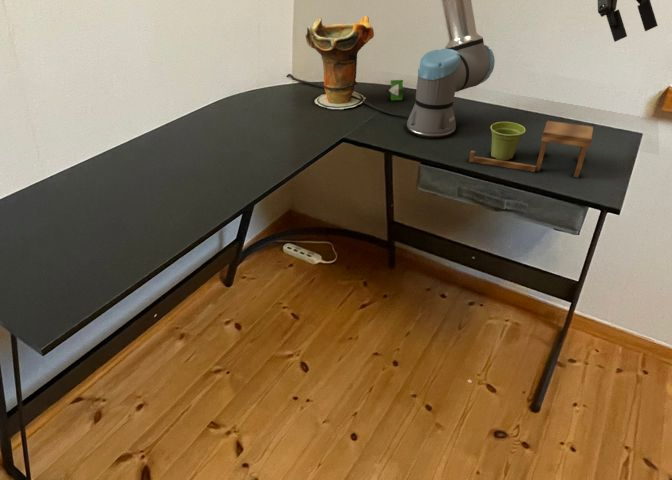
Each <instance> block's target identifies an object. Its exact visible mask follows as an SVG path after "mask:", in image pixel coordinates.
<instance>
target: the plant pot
mask: <svg viewBox="0 0 672 480" xmlns="http://www.w3.org/2000/svg"><path fill="white" fill-rule="evenodd" d="M490 131H491V148H490V156H491V158H494V159H496V160H503V161H509V160H512V159H513V158H514V155H515V153H516V150H517V148H518V145H519V143H520V140H521V138H522V137H523V135H524V134H526V128H525V126H524V125H522V124H519V123H517V122H512V121H498V122H497V121H496V122H493V123H492V124H491V125H490Z"/></svg>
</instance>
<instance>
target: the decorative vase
mask: <svg viewBox="0 0 672 480" xmlns="http://www.w3.org/2000/svg"><path fill="white" fill-rule="evenodd" d="M322 20H323V19H322V18H321V17H319V18H317V19H316V20H315V21H314V22H313V25H307V27H306V33H305V40H306V44H307V46H309V47H310V48H312V49H314V50H315V51H316V52H317V53H318V54H319V55H320V56H321V58H320V59H321V60H322V66H323V67H322V68H323V84H322V86H324V88H323V89H324V92H325V93H324V94H320V95H319V96H317V98H315V99H314V104H315V105H318V106H319V107H322V108H325V109H326V108H327V109H330V110H344V109H349V108H350V109H351V108H354V107H357V106H358V105H361V104H363V103H362V101H360V100H357V99H355V98H352V97H351V96H355V97H357V98H359V99H361V100H363V101H366V100H367V97H365V96H364V94H363V95H362V94H361V93H358V92H356V91H355V86H356V85H359V84H358V82H357V81H356V79H357V67H358V66H357V65H358V54H359V52H360V50H361V49H362V48H363V47H364V46H365V45H366V44H368V42H369V41H371V40H372V39H373V38H374V37H375V32H374V27H373V26H371V24H370V18H369V16H367V15H364V16H362V18H361V19H360V21H359V22H354V23H347V22H346V23H333V24H328V25H323V21H322ZM358 91H359V92H361V90H360V87H359V86H358ZM365 99H366V100H365Z"/></svg>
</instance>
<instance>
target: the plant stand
mask: <svg viewBox="0 0 672 480" xmlns="http://www.w3.org/2000/svg"><path fill="white" fill-rule="evenodd" d="M544 126H545V127H544V129H543V131H542V136H541V140H540V141H541V146H540V150H539V154H538V158H537V161H536V165H534V164H528V163H521V162H514V161H509V160H498V159H496V158H490V157H483V156H478V155H476V150H470V152H469V157H468V158H469V159H468V162H470V163H477V164H481V165H482V164H483V165H488V166H494V167H501V168H507V169H512V170H519V171H526V172H532V173H535V172H541V168H542V165H543V160H544V156H545V154H546V150H547V146H548V143H553V144H561V145H566V146H568V145H569V146H575V147H580V148H579V151H578V154H577V158H576V161H577V164H576V167H575V170H574V173H573V178H580V174H581V170H582V167H583V164H584V161H585V158H586V154H587V151H588V148H589V149H590V147H591V143H592V141H593V133H594V132H593V131H594V126H590V125H582V124H575V123H568V122H559V121H554V120H553V121H552V120H546V123H545V125H544Z"/></svg>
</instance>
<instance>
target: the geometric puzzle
mask: <svg viewBox="0 0 672 480" xmlns="http://www.w3.org/2000/svg"><path fill="white" fill-rule="evenodd" d="M389 82H390V83H389V84H390V87H388V88H387V89H386V93H389V94H388V95H387V96H388V97H390V98H389V100H390V101H403V100H404V97H405V95H406V93H407V92H406V91H408V88H406V86H404V85H406V84H405V82H404V79H394V80H393V79H391V80H390V81H389Z"/></svg>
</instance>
